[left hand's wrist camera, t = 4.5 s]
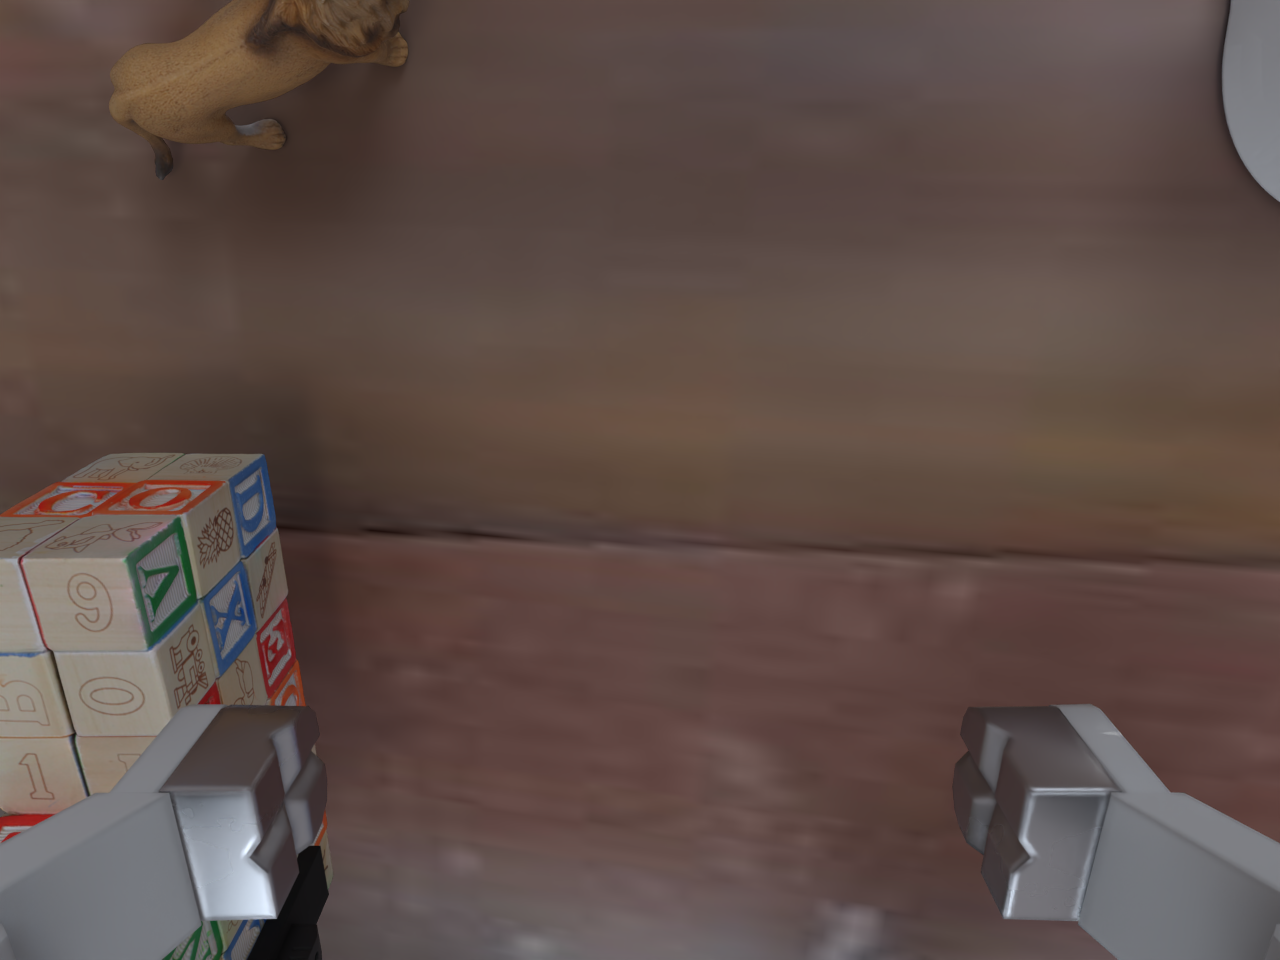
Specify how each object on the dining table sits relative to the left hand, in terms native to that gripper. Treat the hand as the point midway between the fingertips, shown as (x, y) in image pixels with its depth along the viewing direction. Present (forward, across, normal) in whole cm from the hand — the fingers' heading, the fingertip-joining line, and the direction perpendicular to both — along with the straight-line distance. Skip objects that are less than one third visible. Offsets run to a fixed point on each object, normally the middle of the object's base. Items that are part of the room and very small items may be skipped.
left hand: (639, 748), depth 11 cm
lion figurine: (+28, -13, +11) cm, 33 cm away
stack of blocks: (+22, -17, -14) cm, 31 cm away
